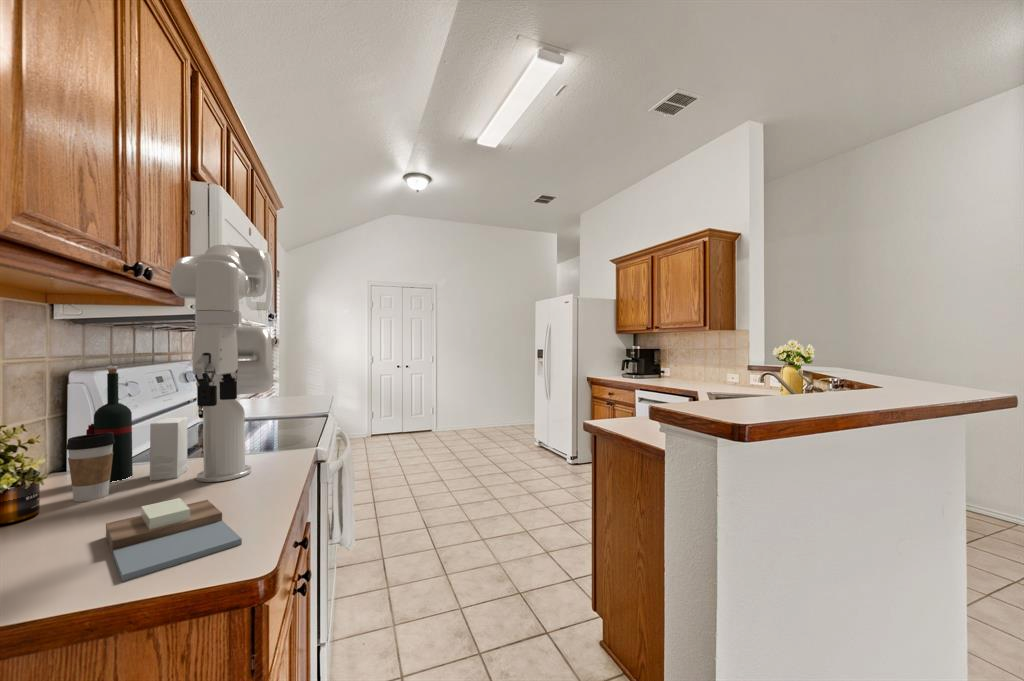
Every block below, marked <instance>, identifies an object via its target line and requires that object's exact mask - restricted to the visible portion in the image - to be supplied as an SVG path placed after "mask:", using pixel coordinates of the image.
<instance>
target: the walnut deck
mask: <svg viewBox="0 0 1024 681" xmlns="http://www.w3.org/2000/svg"><path fill="white" fill-rule="evenodd" d="M186 505H187V506H188V507H189V508H190V519H189V520H186V521H182V522H178V523H174V524H170V525H166V526H162V527H158V528H154V529H150V530H149V528H148V526H147V525H146V523H145V522H144V520H143V518H142V516H141V515H136V516H132V517H128V518H127V517H126V518H124V519H120V520H115V521H112V522H106V523H105V538H106V540H107V544H108V545H109V546H108V547H109V549H110V552H111V556H113V550H116V549H119V548H123V547H127V546H130V545H134V544H138V543H141V542H145V541H149V540H153V539H156V538H160V537H164V536H167V535H171V534H175V533H178V532H182V531H186V530H189V529H193V528H197V527H201V526H204V525H208V524H212V523H215V522H219V521H223V512H222V511H221V510H220V509H218V507H216V506H215V505H214V504H213V503H212V502H211V501H209V500H208V499H204V500H200V501H197V502H192V503H188V504H187V503H186Z"/></svg>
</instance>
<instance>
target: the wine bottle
mask: <svg viewBox="0 0 1024 681" xmlns="http://www.w3.org/2000/svg"><path fill="white" fill-rule="evenodd" d="M107 371H108V373H107V374H106V378H107V381H106V383H107V385H106V386H107V388H106V389H107V392H106V393H107V396H106V397H107V398H106V399H107V401H106V402H107V403H105V404H103V405H101V406H100V407H98V408H97V410H95V412H94V414H93V423H91V424H88V425H87V429H86V432H85V433H86V434H85V435H90V434H99V433H108V432H113V435H114V439H115V443H114V444H113V449H112V452H113V459H112V467H111V476H110V482H112V481H117V480H122V479H126V478H128V477H130V476H132V475H133V473H134V472H133V471H134V470H133V421H132V420H133V419H132V418H133V417H132V416H133V415H132V413H133V412H132V411H131V409H130V408H129V407H128V406H127V405H125V404H123V403H120V402H119V372H118V368H107Z"/></svg>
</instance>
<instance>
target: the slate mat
mask: <svg viewBox="0 0 1024 681" xmlns="http://www.w3.org/2000/svg"><path fill="white" fill-rule="evenodd" d="M242 542H243V538H242V537H241V536H240V535H239V534H238V533H237V532H235V531H234V530H233V529H232V528H231V527H230V526H229V524H227V523H226V522H225V521H224V520H222V521H219V522H215V523H212V524H208V525H204V526H201V527H197V528H193V529H189V530H186V531H182V532H178V533H175V534H171V535H167V536H164V537H160V538H156V539H153V540H149V541H145V542H141V543H138V544H134V545H130V546H127V547H123V548H119V549H116V550H113V555H112V557H113V560H114V563H115V565H116V568H117V571H118V574H119V577H120V579H121V582H122V583H123V582H126V581H129V580H131V579H136V578H139V577H141V576H146V575H148V574H150V573H155V572H157V571H160V570H164V569H167V568H170V567H172V566H173V567H174V566H176V565H180V564H183V563H185V562H189V561H192V560H195V559H198V558H203V557H205V556H208V555H211V554H215V553H218V552H221V551H224V550H228V549H231V548H234V547H237V546H240V545H243V543H242Z"/></svg>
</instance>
